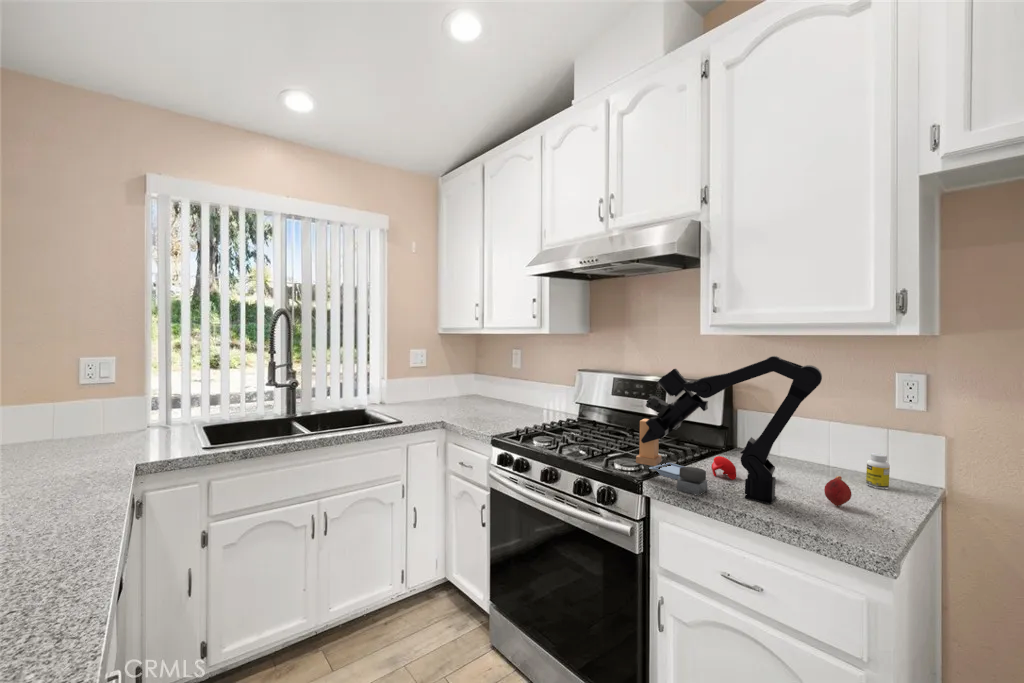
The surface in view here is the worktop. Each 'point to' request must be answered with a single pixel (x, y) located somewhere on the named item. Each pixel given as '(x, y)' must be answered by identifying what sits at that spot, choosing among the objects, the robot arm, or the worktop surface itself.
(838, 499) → the onion
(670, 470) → the tray
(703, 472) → the wheel
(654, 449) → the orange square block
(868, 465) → the supplement bottle
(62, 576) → the worktop surface
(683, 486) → the axle mount
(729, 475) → the cap
